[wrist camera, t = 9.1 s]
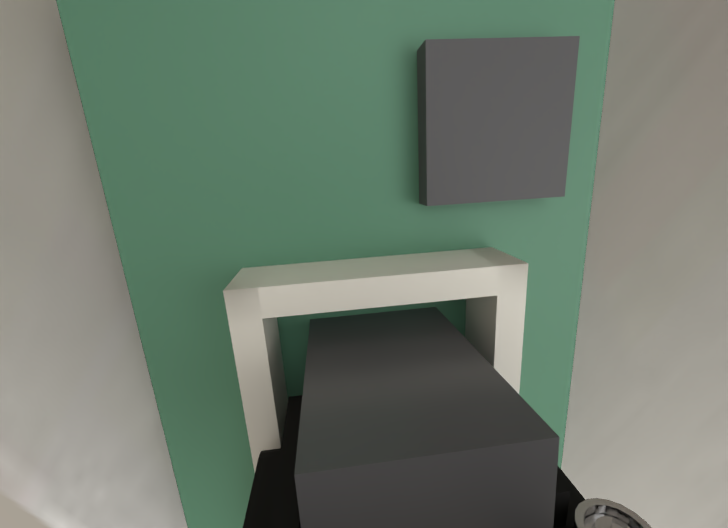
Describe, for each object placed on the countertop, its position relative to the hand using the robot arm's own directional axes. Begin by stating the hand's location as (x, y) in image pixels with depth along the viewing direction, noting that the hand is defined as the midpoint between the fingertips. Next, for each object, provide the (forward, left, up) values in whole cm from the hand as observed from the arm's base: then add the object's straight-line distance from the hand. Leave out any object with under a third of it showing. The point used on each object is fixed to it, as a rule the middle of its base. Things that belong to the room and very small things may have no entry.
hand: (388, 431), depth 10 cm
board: (-3, 0, -3) cm, 4 cm away
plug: (0, 0, -2) cm, 2 cm away
